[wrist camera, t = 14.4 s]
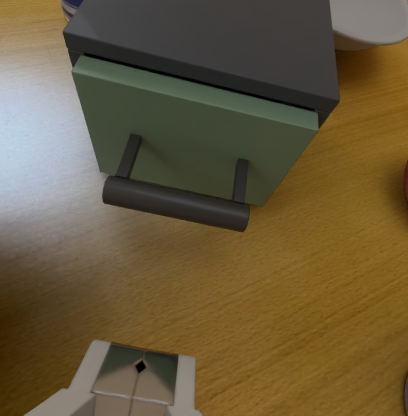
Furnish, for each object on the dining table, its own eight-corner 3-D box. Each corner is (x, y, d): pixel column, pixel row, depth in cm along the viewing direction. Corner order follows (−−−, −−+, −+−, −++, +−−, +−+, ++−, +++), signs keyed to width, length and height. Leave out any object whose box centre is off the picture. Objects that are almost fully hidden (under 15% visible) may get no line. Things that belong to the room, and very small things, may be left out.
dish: (236, -12, 35) (248, -65, 30) (336, -7, 38) (360, -54, 34) (287, 92, 27) (313, 42, 23) (405, 86, 31) (447, 42, 26)
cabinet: (266, 200, 21) (340, 100, 13) (99, 163, 21) (61, 31, 12) (274, 74, 28) (325, -45, 20) (148, 42, 27) (146, -96, 19)
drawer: (258, 264, 18) (323, 210, 11) (77, 227, 17) (27, 145, 10) (270, 80, 26) (311, -16, 20) (148, 50, 26) (147, -61, 19)
